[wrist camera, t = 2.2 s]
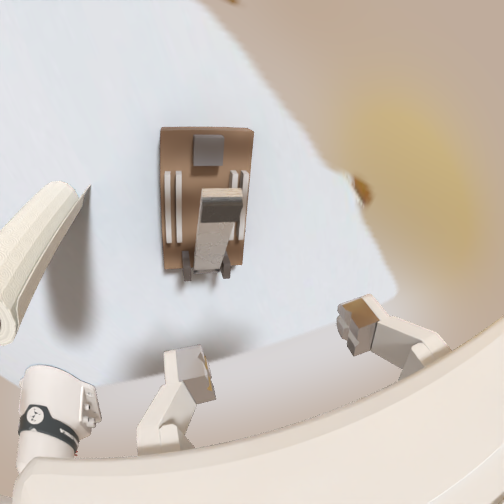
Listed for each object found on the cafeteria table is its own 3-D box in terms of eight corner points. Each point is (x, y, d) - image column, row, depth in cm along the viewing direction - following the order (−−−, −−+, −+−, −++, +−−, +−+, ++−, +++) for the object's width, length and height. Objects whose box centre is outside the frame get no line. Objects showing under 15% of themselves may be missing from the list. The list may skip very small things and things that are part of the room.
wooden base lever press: (237, 253, 42) (248, 280, 37) (164, 256, 39) (164, 285, 34) (247, 128, 33) (262, 136, 28) (161, 127, 31) (158, 135, 26)
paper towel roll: (39, 221, 32) (-35, 338, 14) (40, 177, 29) (-57, 276, 12) (87, 228, 34) (36, 358, 17) (91, 183, 32) (20, 294, 14)
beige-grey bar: (217, 264, 37) (219, 276, 36) (192, 265, 36) (194, 278, 35) (241, 186, 23) (243, 203, 22) (201, 186, 22) (203, 204, 21)
